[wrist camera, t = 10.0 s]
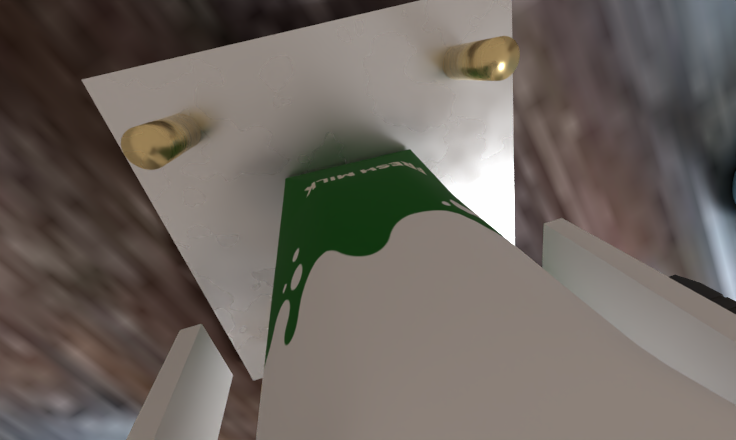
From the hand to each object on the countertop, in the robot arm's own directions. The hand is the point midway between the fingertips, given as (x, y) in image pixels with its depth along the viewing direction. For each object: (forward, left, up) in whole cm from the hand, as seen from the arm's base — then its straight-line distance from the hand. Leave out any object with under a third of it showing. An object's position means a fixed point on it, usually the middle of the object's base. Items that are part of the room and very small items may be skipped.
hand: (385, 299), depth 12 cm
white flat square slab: (0, 0, -9) cm, 9 cm away
